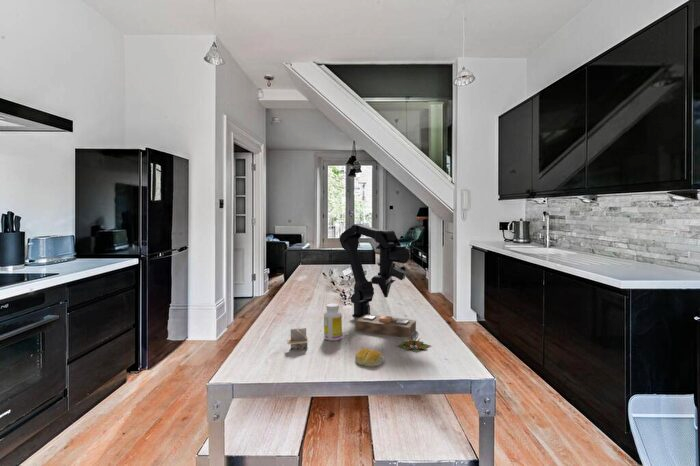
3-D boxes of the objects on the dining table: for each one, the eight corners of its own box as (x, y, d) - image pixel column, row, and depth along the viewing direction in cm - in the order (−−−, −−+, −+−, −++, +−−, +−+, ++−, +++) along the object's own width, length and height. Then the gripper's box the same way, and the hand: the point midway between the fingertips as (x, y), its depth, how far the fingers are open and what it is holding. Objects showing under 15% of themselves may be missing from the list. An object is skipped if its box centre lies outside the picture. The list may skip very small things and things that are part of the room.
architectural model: (308, 352, 134) (307, 331, 134) (287, 353, 133) (287, 332, 132) (307, 348, 138) (306, 328, 137) (287, 350, 136) (287, 329, 136)
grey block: (396, 331, 152) (396, 321, 151) (399, 328, 155) (399, 319, 155) (406, 332, 150) (406, 323, 150) (408, 329, 154) (409, 320, 153)
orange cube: (379, 327, 154) (379, 318, 154) (382, 324, 158) (382, 315, 158) (388, 328, 153) (388, 319, 153) (392, 325, 156) (392, 316, 156)
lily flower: (437, 347, 138) (437, 335, 138) (418, 357, 130) (418, 343, 129) (410, 339, 147) (410, 327, 146) (390, 347, 138) (390, 335, 138)
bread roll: (362, 355, 131) (362, 343, 131) (386, 360, 126) (386, 348, 126) (349, 363, 124) (349, 351, 124) (374, 370, 119) (374, 357, 119)
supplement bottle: (344, 336, 149) (344, 303, 148) (338, 342, 142) (337, 307, 141) (328, 334, 151) (327, 302, 150) (321, 340, 144) (321, 306, 143)
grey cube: (363, 326, 157) (363, 317, 157) (366, 323, 161) (366, 314, 161) (372, 328, 156) (372, 318, 156) (375, 325, 159) (375, 316, 159)
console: (355, 330, 156) (355, 320, 155) (365, 323, 165) (365, 314, 164) (408, 338, 146) (408, 327, 146) (415, 330, 155) (416, 320, 155)
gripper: (397, 265, 150) (396, 304, 151) (411, 258, 167) (411, 294, 168) (370, 263, 155) (370, 301, 156) (387, 257, 172) (386, 291, 173)
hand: (386, 297), depth 163 cm, fingers closed
